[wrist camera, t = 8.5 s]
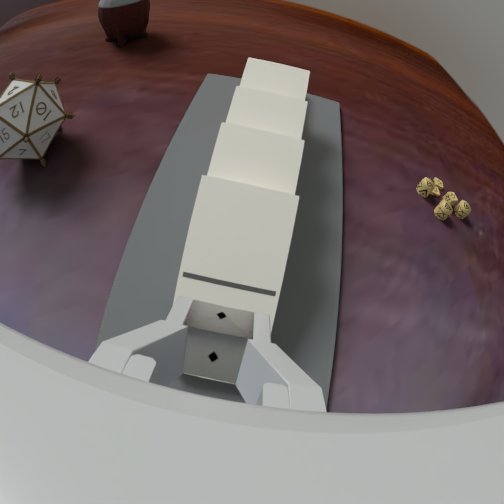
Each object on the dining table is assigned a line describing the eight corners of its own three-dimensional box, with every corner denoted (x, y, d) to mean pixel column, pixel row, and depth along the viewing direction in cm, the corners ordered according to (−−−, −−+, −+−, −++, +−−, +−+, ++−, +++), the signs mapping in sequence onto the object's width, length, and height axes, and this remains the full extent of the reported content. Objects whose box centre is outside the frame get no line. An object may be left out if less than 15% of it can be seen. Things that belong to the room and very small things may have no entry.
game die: (44, 165, 25) (14, 86, 19) (103, 134, 23) (71, 43, 18) (-10, 206, 17) (-48, 108, 12) (47, 170, 16) (6, 48, 10)
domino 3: (270, 311, 16) (304, 140, 17) (180, 292, 16) (221, 121, 16) (267, 307, 18) (299, 150, 18) (185, 289, 17) (222, 133, 18)
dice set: (462, 220, 25) (473, 211, 23) (436, 233, 24) (449, 223, 22) (436, 180, 27) (446, 170, 25) (409, 188, 25) (419, 176, 24)
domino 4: (257, 388, 14) (299, 196, 15) (162, 367, 14) (202, 174, 15) (255, 377, 16) (293, 202, 16) (168, 358, 16) (205, 183, 16)
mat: (312, 467, 14) (314, 469, 14) (83, 419, 14) (80, 420, 13) (337, 106, 28) (339, 102, 28) (207, 77, 27) (208, 73, 27)
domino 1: (289, 183, 20) (310, 71, 20) (216, 167, 20) (248, 57, 20) (285, 189, 21) (305, 81, 22) (217, 174, 21) (247, 68, 22)
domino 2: (281, 243, 18) (307, 101, 18) (198, 225, 18) (236, 85, 18) (277, 244, 20) (302, 112, 20) (201, 228, 19) (236, 97, 20)
